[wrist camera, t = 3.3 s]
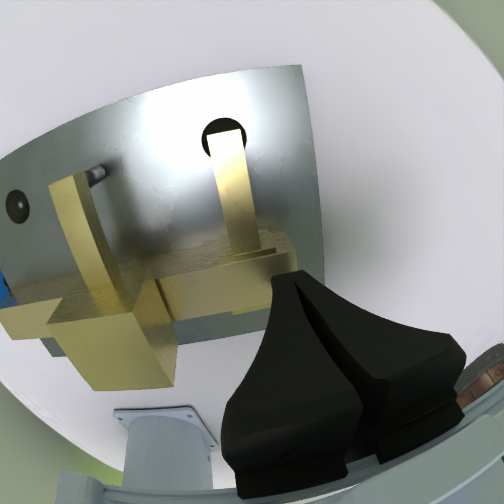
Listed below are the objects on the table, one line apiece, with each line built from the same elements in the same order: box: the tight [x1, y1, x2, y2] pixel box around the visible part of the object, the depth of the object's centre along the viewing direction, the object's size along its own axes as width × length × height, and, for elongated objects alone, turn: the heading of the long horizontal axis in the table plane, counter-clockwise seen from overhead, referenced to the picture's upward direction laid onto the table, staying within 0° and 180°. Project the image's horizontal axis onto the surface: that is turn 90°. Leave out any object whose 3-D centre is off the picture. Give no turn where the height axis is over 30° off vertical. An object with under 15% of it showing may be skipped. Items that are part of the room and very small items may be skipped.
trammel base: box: [0, 65, 325, 357], centre depth 13 cm, size 14×20×3 cm
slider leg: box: [46, 166, 179, 391], centre depth 11 cm, size 8×4×5 cm, turn 10°
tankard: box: [453, 343, 504, 463], centre depth 20 cm, size 24×17×20 cm
